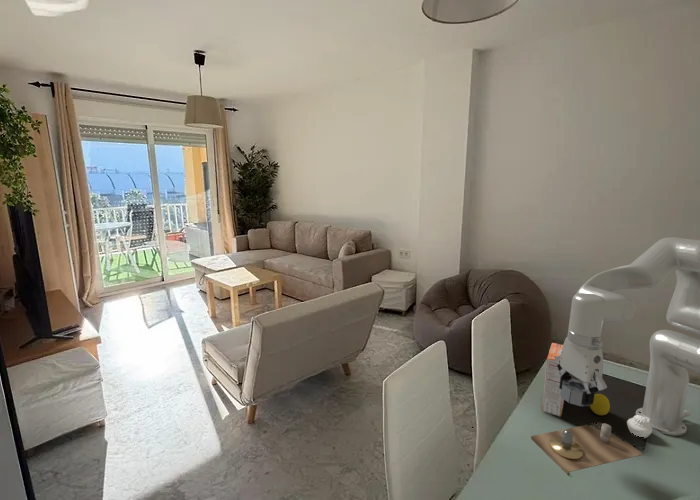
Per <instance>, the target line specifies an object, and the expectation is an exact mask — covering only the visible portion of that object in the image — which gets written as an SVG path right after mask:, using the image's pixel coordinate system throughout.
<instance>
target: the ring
mask: <svg viewBox="0 0 700 500" xmlns="http://www.w3.org/2000/svg"><path fill="white" fill-rule="evenodd" d="M589 386H590V388H592V387H591V385H589ZM584 391H586V390H585V387H584V383H583V381H581V380H580V379H576V378H572V377H571V379H564V380H563V381H562V388H561V397H562V398H563V399H564V401H566V402H567V403H568V404H571V405H575V406H578V407H586V406H588V405H585V406H584V405H582V397H583V392H584Z"/></svg>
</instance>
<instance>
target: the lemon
mask: <svg viewBox="0 0 700 500" xmlns="http://www.w3.org/2000/svg"><path fill="white" fill-rule="evenodd" d="M589 407H590V409H591V411H592V412H593V413H594V414H596V415H598V416H605V415H608V413H609V411H610V408H611V405H610V400H609V398H608V397H607V396H606V395H604V394H602V393H595V395H594V401H593V404H591V405H589Z"/></svg>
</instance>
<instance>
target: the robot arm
mask: <svg viewBox="0 0 700 500" xmlns="http://www.w3.org/2000/svg"><path fill="white" fill-rule="evenodd" d="M674 272H675V275H676V285H675V289H674V291H673V294H672V297H671V299H670V302H669V305H668V308H667V311H666V314H665V315H666V321H667V323H668V324H670V325H671V326H674V327H676V328H678V329H681V330H683V331H687V332H689V333H692V334H695V335H698V336H700V239H690V238H682V237H673V236H672V237H670V236H669V237H663V238H661V239H659V240H657V242H655V243H654V244H652V245H651V246H650V247H649V248H648V249H646V250H645V251H644V252H643V253H642V254H640V255H639V256H638V257H637V258H636V259H635V260H633V261H632V262H631V263H629V264H626V265H625V264H624V265H621V266H618V267H615V268H614V267H613V268H610V269H607V270H604V271H602V272H601V271H600V272H599V273H596V274H595V275H593V276H592V277H590V278H589V279H587V280H586V282H584V283H583V284H582V285H581V286H580V287H579V288H578V290H577V291H576V293H575V294H574V295H573V296H572V298H571V299H572V300H571V307H570V314H569V321H568V322H569V323H568V328H567V329H568V330H567V336H566V337H565V339H564V342H563V344H562V345H563V348H562V352H561V355H560V356H557V357H555V361H556V363H557V367H558V369H559V371H560V372H559V375H560V376H561V379H560V386H559V388H560V389H561V388H562V381H563V380H564V379H571V378H572V376H573V377H575V379H576V378H577V380H579V381H582V382H583V383H584V387H585V390H586V391H584V392H583V397H582V405H584V406H583V407H586V406H585V405H587V406H590V405H591V404H593V401H594V395H595V394H597V393H599V392H601V391H603V390H605V389H607V388H608V386H607V384H606V382H605V380H604V379H603V373H604V351H603V348H602V347H603V346H604V343H603V342H602V341H601V337H602V330H603V325H604V322H607V323H623V322H628V321H630V320H631V319H632V318H633V317H634V316H635V314H636V311H637V307H636V305H637V304H636V303H635V302H634V301H633V299H631V298H630V297H628V296H625V295H623V294H620V293H617V292H614V291H617V290H618V291H619V290H627V289H628V290H630V289H631V290H642V289H653V288H656V287H658V286H660V285H661V284H662V283H663V282H664V281H665V280H667V279H668V278H669V277H670V276H671V275H672V274H674ZM649 353H650V361H649V369H648V375H647V381H646V386H645V392H644V393H645V394H644V399H643V405H642V407H639V408H637V409H636V411H635V415H641V416H643V417H645V418H646V419H647V420H648V423H649V425H650V426H651V427H652V429H653V430H654V429H655V430H656V431H657V432H658V433H661V434H664V435H668V436H673V437H675V436H676V437H677V436H684V435H685V434H686V433H687V429H688V428H687V425H686V424H685V423H684V422H683V419H684V418H686V417H690V416H691V411H689V410H688V409H684V408H685V404H686V399H687V394H688V389H689V388H688V387H689V383H690V376H689V373H688V370H689V371H691V372H693V373H695V374H698V375H700V339H698V338H695V337H693V336H690V335H687V334H684V333H681V332H678V331H674V330H669V329H660V330H656V331H654V332H653V334H652V335H651V336H650V338H649ZM590 386H591V387H592V388H590ZM639 412H641V413H639Z"/></svg>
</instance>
